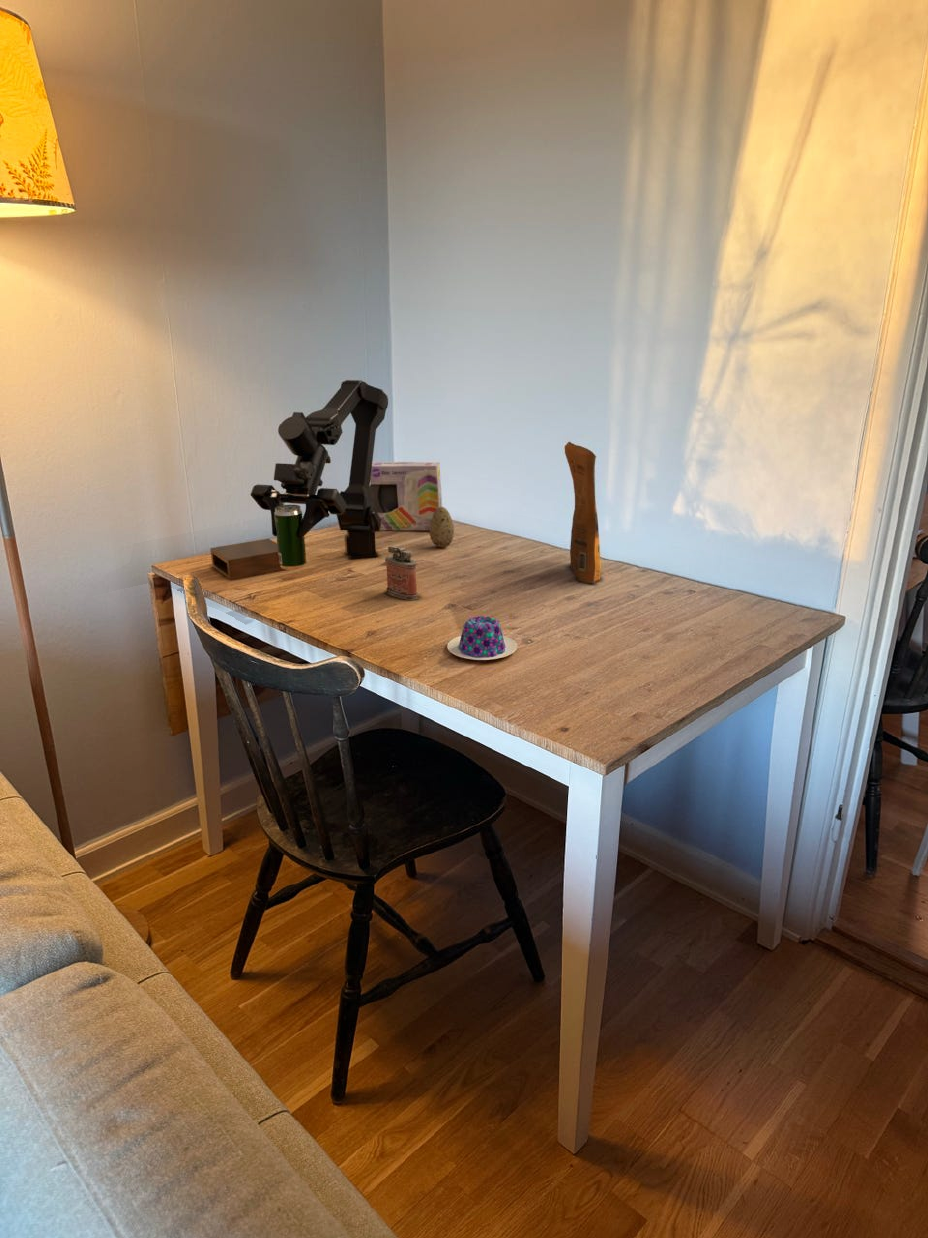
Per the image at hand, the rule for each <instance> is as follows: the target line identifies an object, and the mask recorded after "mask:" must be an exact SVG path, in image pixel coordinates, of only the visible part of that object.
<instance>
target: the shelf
mask: <svg viewBox="0 0 928 1238" xmlns="http://www.w3.org/2000/svg"><path fill="white" fill-rule="evenodd" d="M210 557H211V567H212V568H213V569H214V570H216V571H218V572H219V573H220V574H222V575H223V576H224V577H226V578H227V579H228V580H229V581H233V580H238V579H242V578H248V577H254V576H258V575H264V574H270V573H276V572H280V571H286V569H283V568H281V566H280V564H279V556H278V546H277V541H276V542H275V541H274V540H272V539H270V538H265V539H257V540H252V541H245V542H240V543H233V544H228V545H221V546H213V547H210Z"/></svg>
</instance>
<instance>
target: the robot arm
mask: <svg viewBox="0 0 928 1238" xmlns="http://www.w3.org/2000/svg"><path fill="white" fill-rule="evenodd" d="M388 405H389V397H388V395H387V394H386V393H385V392H384V390H383V389H381V388H378V387H375V386H373V385H371V384H368V383H367V382H365V381H363V380H362V379H361V380H360V379H346V380H344V381H342V382H341V384H340V388H339V389H338V390H337V391H336V393H335V394H334V395H333V396H332V397H331V398H330V399H329V401H328V402H327V403H326V404H325V406H324V407H322V408H321V409H318V410H315V411H312V412H310V414H308V415H307V416H305V413H304V412H302V411H301V412H300V411H293V412H292V415H291V416H289V417H287V418H285V419H284V420H283V421H282V422H281V423H279V426H278V429H277V431H278V432H277V433H278V435H279V437H280V438H281V439H282V441H283V442H284V444H285V446H286V447H287V448H288V450H289V451H290V452H291V454H293V455H294V456H296V460H295V463H280V462H279V463H275V464H274V473H273V480H274V481H278V482H280V483H281V484H280V487H281V488H282V489H283V490H285V492H283V491H282V492H280V491H278V490H276V488H275V487H274V486H273V484H259V483H258V484H256V485H253V487H252V489H251V492H250V494H249V495H250V496H251V498H252V499H253V500H254V501H255V502H256V504H257V505H258V506H259V507H260V509H262V510H264V511H270V518H271V519H270V520H271V534H272V536H273V537H277V536H276V526H275V516H274V513H275V508H276V507H278V506H282V505H285V503H287V504H293V505H305V510H304V514H303V515H302V517H303V519H302V522H301V525H300V528H299V533H298V537H299V538H303V537H304V538H305V536H306V535H307V534H308V533H309V532H310V531H311V530H312V529H313V528H314V527H315V526H316V525H318V523H320V522H321V521H322V520H324V519H325V518H329V517H330V515H336V518H337V519H336V520H337V522H338V526H339V530H340V531H346V534H345V535H344V550H345V553H346V554H347V556H348V557H349V558H350V559H351V560H353V559H355V560H356V559H365V558H374V557H378V556H379V554H378V552H377V548H376V546H377V545H376V544H377V543H376V533H377V532H380V531H381V530H380V528H381V518H380V517H379V515H378V513H377V512H376V510H375V508H374V507H375V502H374V499H373V497H372V495H371V493H370V491H369V487H370V478H371V470H372V463H373V462H374V461H373V459H374V453H375V452H374V451H375V443H376V434H377V429H378V428H379V426H380V425H381V424H382V423H383V421H384V420H385V417H386V411H387V409H388ZM349 415H350V416H351V418H352V419H353V422H354V424H355V427H354V428H355V429H354V436H353V445H352V453H351V462H350V470H349V479H348V481H349V482H348V486H347V487H346V488H345V490H344V491H342V490H341V491H340V492H339V490H338V489H337V488H329V487H322V486H323V483H324V481H323V480H322V475H323V472H324V469H325V465H326V464H331V462H332V460H331V456H330V455H329V452H328V450H327V449H326V446H335V445H336V444H338V442H339V440H340V438H341V436H342V435H343V427H342V425H343V423H344V422H345V420H346V419H347V418H348V416H349ZM318 487H320V488H318Z"/></svg>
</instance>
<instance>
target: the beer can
mask: <svg viewBox="0 0 928 1238" xmlns="http://www.w3.org/2000/svg"><path fill="white" fill-rule="evenodd" d="M274 516H275V526H276V536H275V537H276V543H277V546H278V556H279V564H280V566H281V568H283V569H286V570H287V571H288V570H289V571H294V570H300V569H303V568H304V567H306V565H307V553H306V541H305V536H304V537H303V538H299V537H298V533H299V528H300V525H301V522H302V519H303V511H302V509H301V506H300V505H299V504H284V505H282V506H278V507H276V508H275V513H274ZM286 570H285V571H286Z"/></svg>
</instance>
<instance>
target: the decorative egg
mask: <svg viewBox="0 0 928 1238" xmlns="http://www.w3.org/2000/svg"><path fill="white" fill-rule="evenodd" d="M454 536H455V527H454V522H453V519H452V516H451V514H450V512H449V511H448V510H447V509H446V507H444V506H442V507H439V508H438V509H437V510H436V511H435V513H434V514H433V517H432V520H431V524H430V530H429V537H430V540H431V542H432V543H433V544H434V546H436V547H438V548H446V547H448V546H449V545H450V544H451V543H452V542H453V541H454V540H453V539H454Z"/></svg>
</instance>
